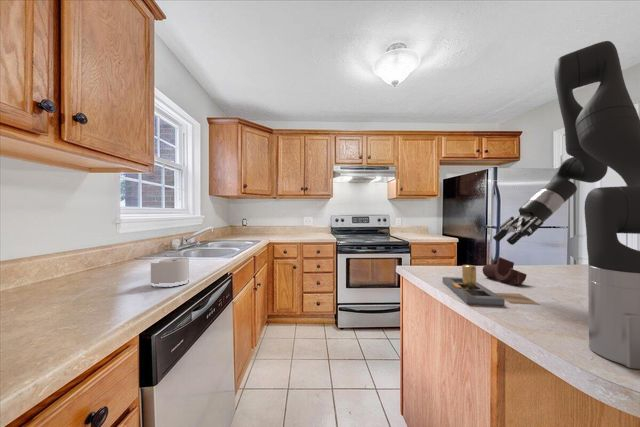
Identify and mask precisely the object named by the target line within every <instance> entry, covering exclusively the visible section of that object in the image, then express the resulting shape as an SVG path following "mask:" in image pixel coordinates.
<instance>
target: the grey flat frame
mask: <svg viewBox="0 0 640 427" xmlns="http://www.w3.org/2000/svg"><path fill="white" fill-rule="evenodd" d="M442 283H443V284H444V285H445V287H447V288H448V289H449V290H450V291H452V292H453V293H454V294H455V295H456V297H458V298H459V299H461V301H463V302H464V304H466V305H471V306H486V307H487V306H491V307H505V301H506V300H505V299H503V298H501V297H500V296H498V295H497V294H495V293H496V292H493V291H492V290H490V289H489V288H487V287H485V286H484V285H482V284H480V283H479V282H478V281H476V289H463V281H462V277H453V276H452V277H451V276H443V277H442Z"/></svg>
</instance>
